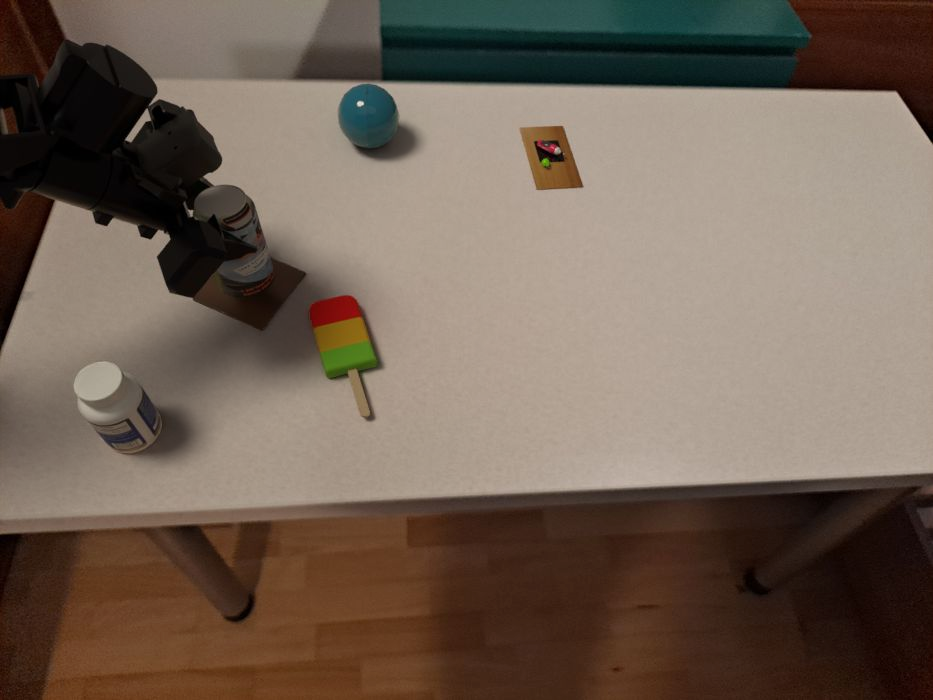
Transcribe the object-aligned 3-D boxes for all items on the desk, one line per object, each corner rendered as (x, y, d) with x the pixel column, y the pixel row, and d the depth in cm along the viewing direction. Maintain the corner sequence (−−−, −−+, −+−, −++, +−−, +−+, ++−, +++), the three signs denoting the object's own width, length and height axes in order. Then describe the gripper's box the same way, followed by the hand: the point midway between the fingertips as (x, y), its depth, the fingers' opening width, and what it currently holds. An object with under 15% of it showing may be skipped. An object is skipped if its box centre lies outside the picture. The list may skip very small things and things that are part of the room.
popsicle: (355, 300, 78) (354, 290, 76) (392, 413, 71) (392, 404, 69) (307, 311, 77) (305, 301, 75) (339, 427, 69) (338, 419, 68)
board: (536, 189, 90) (538, 181, 89) (519, 128, 96) (520, 119, 95) (582, 187, 91) (585, 178, 90) (562, 126, 97) (564, 118, 96)
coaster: (262, 331, 75) (262, 329, 75) (193, 300, 76) (192, 298, 76) (306, 274, 80) (305, 272, 79) (240, 246, 81) (239, 244, 81)
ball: (400, 122, 95) (400, 71, 88) (398, 162, 91) (398, 112, 84) (341, 120, 94) (337, 68, 88) (337, 160, 90) (332, 109, 83)
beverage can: (243, 315, 73) (220, 242, 63) (200, 275, 75) (172, 198, 65) (289, 283, 76) (275, 208, 66) (247, 245, 78) (226, 167, 68)
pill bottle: (134, 396, 69) (98, 344, 61) (174, 422, 68) (144, 372, 60) (92, 437, 67) (49, 388, 59) (134, 464, 66) (96, 418, 57)
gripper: (172, 182, 51) (325, 241, 64) (119, 40, 60) (264, 117, 72) (98, 280, 55) (256, 317, 68) (58, 134, 64) (205, 191, 76)
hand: (246, 230), depth 71 cm, fingers closed on beverage can, 6 cm apart
